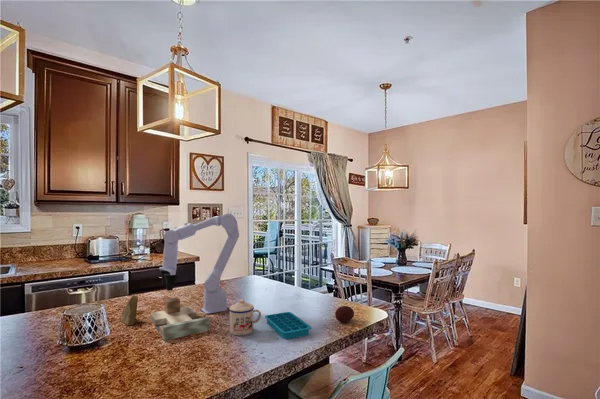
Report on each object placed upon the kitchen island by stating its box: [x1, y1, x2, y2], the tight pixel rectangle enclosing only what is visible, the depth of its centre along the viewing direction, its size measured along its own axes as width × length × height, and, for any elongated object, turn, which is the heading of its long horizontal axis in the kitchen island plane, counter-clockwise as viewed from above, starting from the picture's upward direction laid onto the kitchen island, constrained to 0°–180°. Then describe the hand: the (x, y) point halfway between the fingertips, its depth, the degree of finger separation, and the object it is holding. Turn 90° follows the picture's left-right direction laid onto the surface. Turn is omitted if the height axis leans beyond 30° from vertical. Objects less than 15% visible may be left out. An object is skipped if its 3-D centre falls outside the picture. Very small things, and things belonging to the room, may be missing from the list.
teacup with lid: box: [228, 298, 262, 336], centre depth 121 cm, size 12×9×12 cm
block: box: [164, 296, 181, 314], centre depth 135 cm, size 5×5×5 cm
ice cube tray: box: [264, 311, 312, 340], centre depth 123 cm, size 12×20×3 cm, turn 26°
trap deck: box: [149, 305, 210, 341], centre depth 127 cm, size 16×26×4 cm, turn 35°
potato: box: [334, 305, 355, 323], centre depth 130 cm, size 8×9×6 cm
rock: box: [120, 294, 139, 326], centre depth 130 cm, size 11×9×10 cm
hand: (167, 288), depth 141 cm, fingers open, 7 cm apart
